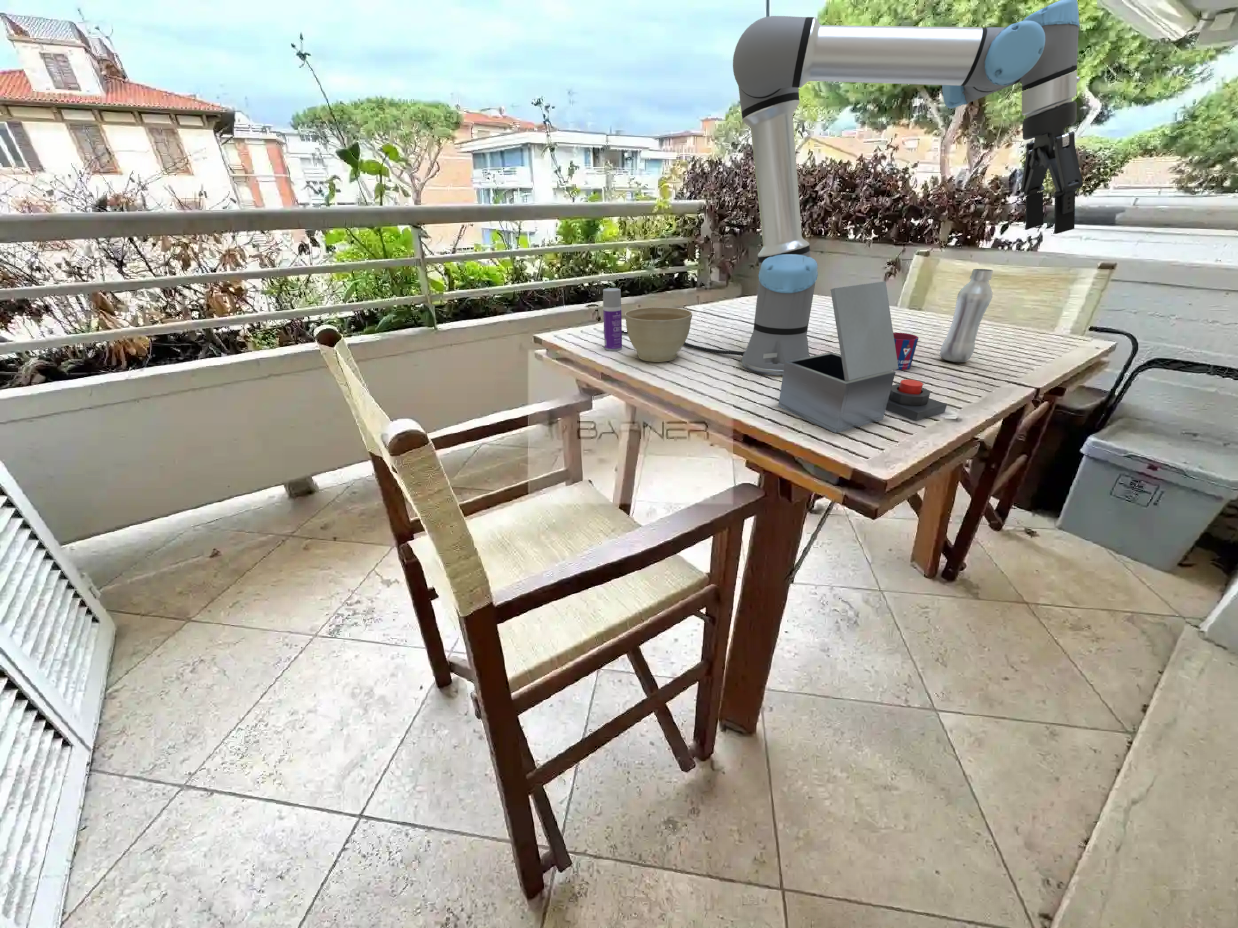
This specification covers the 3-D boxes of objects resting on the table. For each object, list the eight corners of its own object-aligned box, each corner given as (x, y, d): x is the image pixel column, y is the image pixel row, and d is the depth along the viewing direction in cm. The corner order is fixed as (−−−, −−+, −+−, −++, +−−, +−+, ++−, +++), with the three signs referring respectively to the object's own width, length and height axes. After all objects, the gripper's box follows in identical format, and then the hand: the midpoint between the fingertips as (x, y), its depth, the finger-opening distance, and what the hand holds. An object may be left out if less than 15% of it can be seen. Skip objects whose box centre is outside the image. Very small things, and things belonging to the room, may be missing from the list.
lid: (830, 289, 75) (834, 287, 74) (881, 282, 79) (885, 281, 78) (844, 381, 76) (849, 380, 76) (894, 369, 81) (898, 368, 80)
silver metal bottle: (960, 357, 116) (989, 267, 106) (975, 365, 110) (1008, 272, 100) (932, 356, 116) (958, 268, 107) (945, 365, 110) (975, 272, 101)
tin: (777, 406, 91) (784, 361, 87) (822, 395, 96) (831, 352, 91) (835, 433, 80) (846, 383, 76) (882, 420, 85) (895, 371, 81)
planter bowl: (703, 358, 119) (706, 313, 114) (652, 371, 111) (653, 323, 106) (661, 345, 131) (662, 303, 125) (612, 356, 123) (611, 312, 117)
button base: (866, 403, 92) (870, 385, 90) (894, 395, 95) (899, 378, 93) (915, 421, 84) (921, 403, 82) (944, 412, 87) (950, 394, 85)
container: (615, 351, 126) (614, 291, 119) (601, 349, 128) (598, 290, 121) (625, 347, 129) (624, 288, 122) (610, 345, 132) (609, 287, 124)
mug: (886, 370, 108) (894, 340, 105) (866, 357, 117) (872, 329, 113) (916, 370, 108) (925, 339, 105) (893, 357, 117) (900, 328, 113)
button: (893, 390, 89) (896, 381, 88) (906, 387, 90) (909, 378, 89) (911, 396, 86) (914, 387, 85) (924, 393, 87) (927, 383, 86)
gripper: (1112, 86, 77) (1106, 225, 85) (1045, 108, 98) (1045, 219, 106) (1053, 108, 80) (1052, 241, 88) (1000, 125, 101) (1003, 231, 109)
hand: (1048, 229), depth 97 cm, fingers open, 13 cm apart
